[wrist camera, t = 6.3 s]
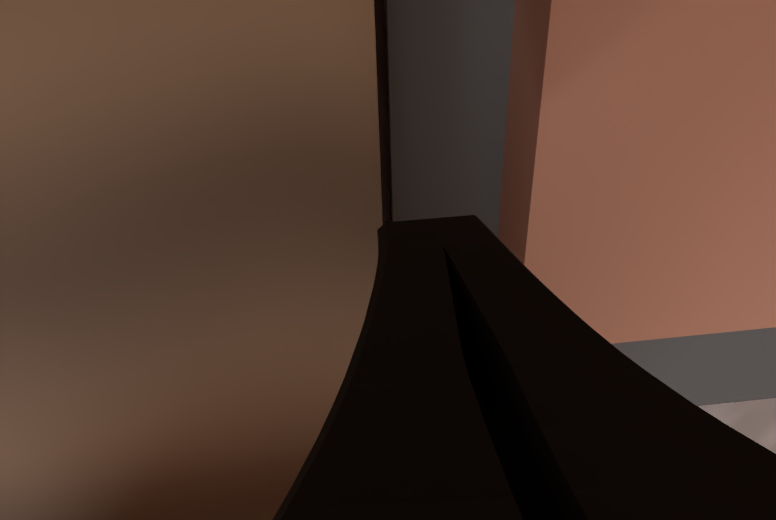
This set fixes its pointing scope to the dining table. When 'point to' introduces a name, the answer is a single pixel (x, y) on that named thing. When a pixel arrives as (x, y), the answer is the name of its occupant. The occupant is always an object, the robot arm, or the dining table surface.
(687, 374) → the mat
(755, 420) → the dining table surface
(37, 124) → the deck
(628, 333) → the salmon pink panel
